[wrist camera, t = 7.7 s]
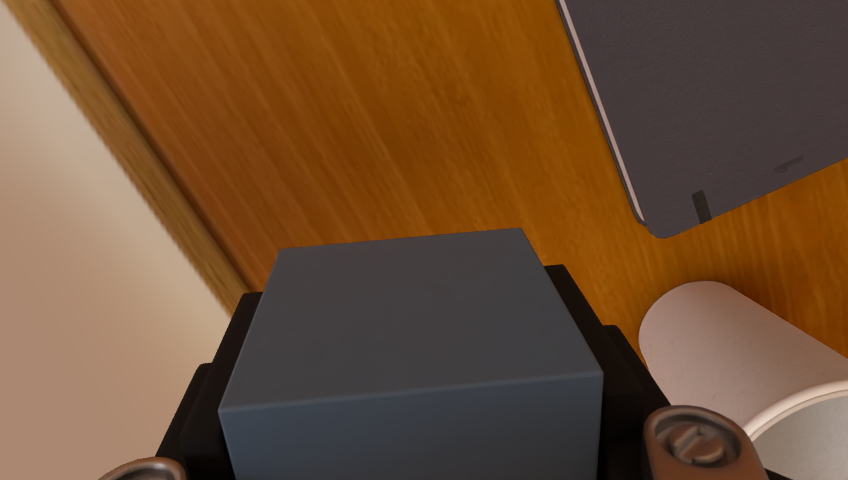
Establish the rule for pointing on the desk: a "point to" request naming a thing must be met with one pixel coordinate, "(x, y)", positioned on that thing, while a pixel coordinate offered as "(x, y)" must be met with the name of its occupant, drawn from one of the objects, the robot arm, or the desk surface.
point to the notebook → (713, 97)
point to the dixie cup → (752, 376)
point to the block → (413, 367)
